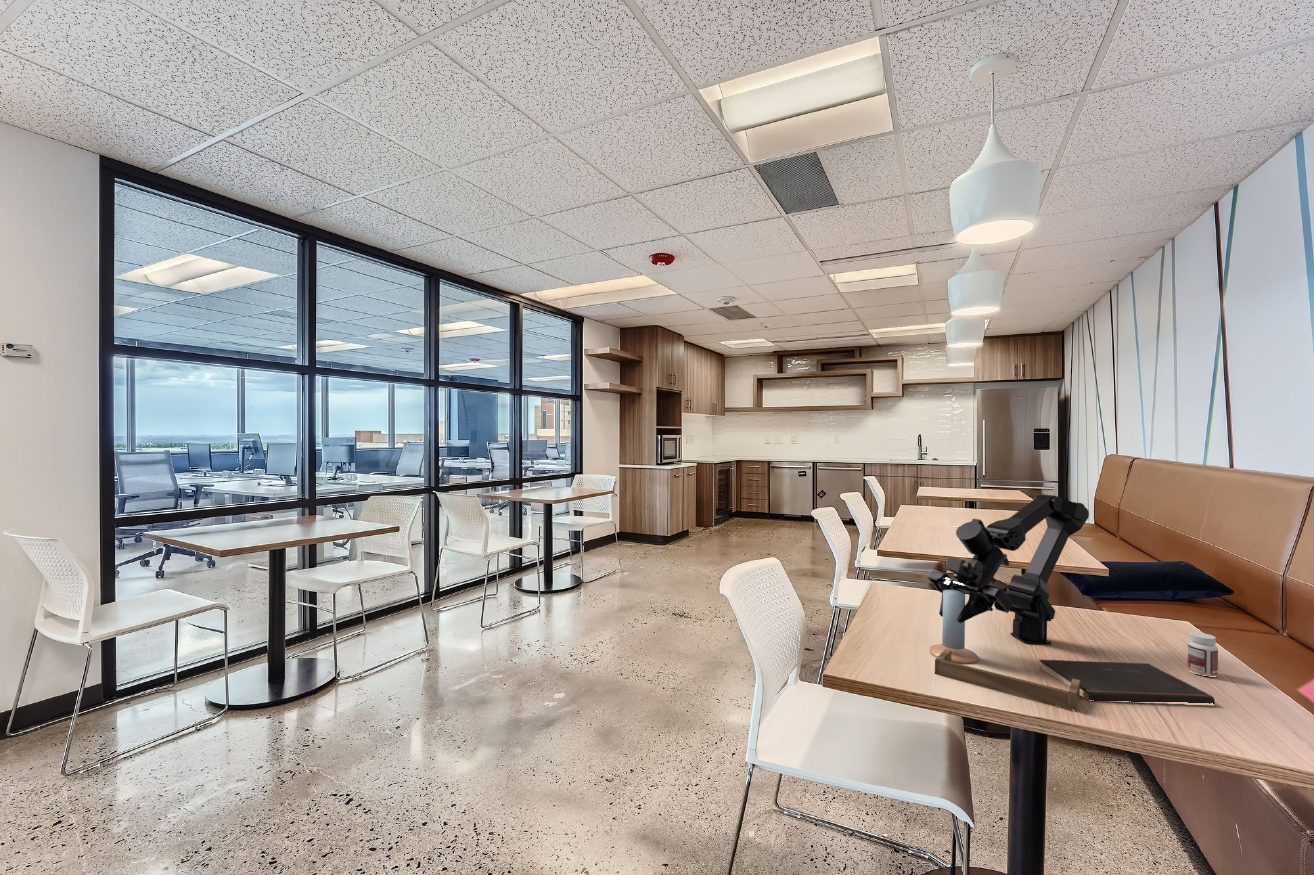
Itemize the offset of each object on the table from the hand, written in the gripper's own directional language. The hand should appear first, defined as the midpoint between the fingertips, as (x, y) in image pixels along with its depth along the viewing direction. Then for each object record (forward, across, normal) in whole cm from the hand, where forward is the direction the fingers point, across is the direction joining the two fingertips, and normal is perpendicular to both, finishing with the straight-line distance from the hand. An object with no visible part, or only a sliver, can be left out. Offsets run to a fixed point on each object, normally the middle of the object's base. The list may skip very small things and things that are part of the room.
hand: (949, 618), depth 131 cm
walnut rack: (+8, +15, +5) cm, 17 cm away
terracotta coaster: (+5, 0, +7) cm, 9 cm away
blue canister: (+4, 0, +6) cm, 7 cm away
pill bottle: (-24, +28, +37) cm, 53 cm away
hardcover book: (-7, +24, +21) cm, 33 cm away
